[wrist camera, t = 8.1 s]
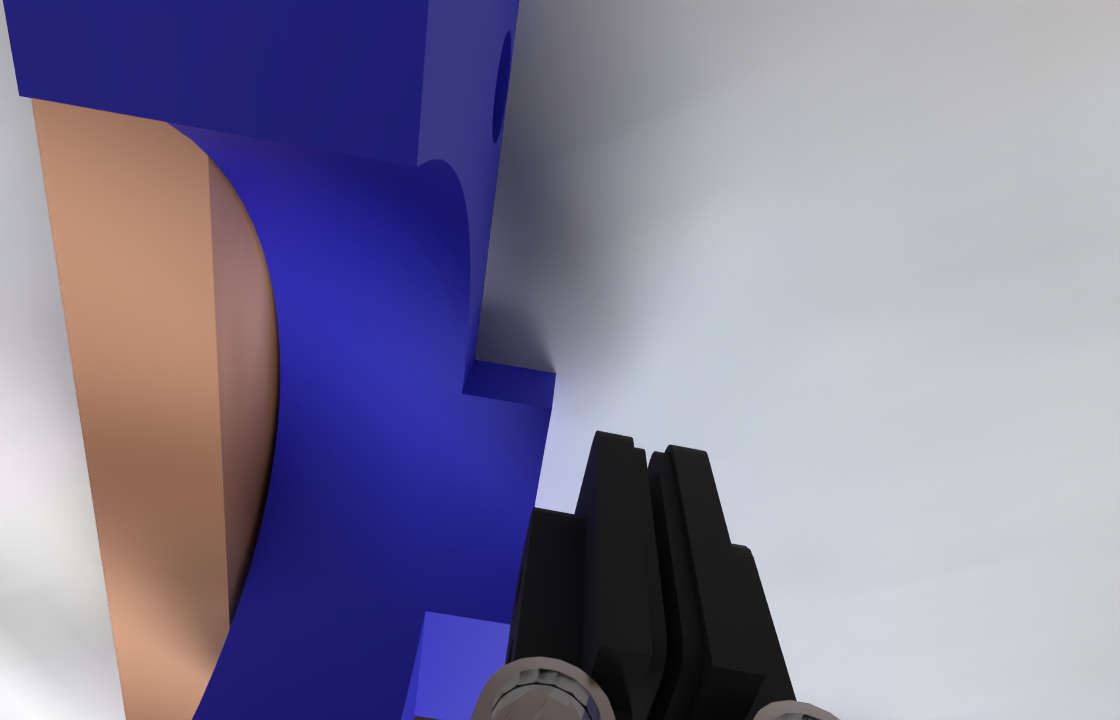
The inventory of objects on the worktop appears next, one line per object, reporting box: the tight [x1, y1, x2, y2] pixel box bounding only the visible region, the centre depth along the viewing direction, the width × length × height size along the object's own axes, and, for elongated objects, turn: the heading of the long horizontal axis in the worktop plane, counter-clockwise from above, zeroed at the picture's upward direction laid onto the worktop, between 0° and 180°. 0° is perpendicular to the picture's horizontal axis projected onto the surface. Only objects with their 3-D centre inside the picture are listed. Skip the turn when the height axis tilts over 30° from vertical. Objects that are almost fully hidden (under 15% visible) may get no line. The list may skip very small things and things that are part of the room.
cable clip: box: [3, 0, 556, 720], centre depth 10 cm, size 12×4×6 cm, turn 171°
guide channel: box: [31, 98, 439, 720], centre depth 11 cm, size 21×17×3 cm
